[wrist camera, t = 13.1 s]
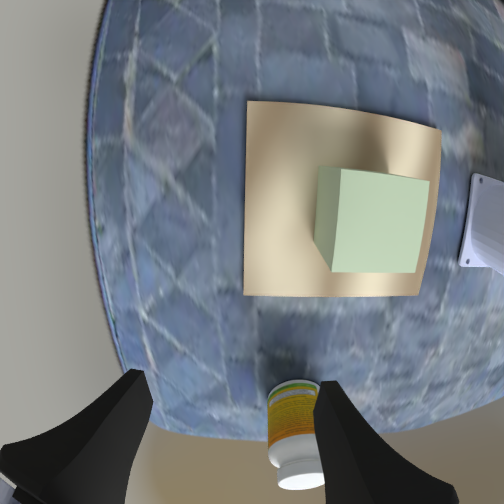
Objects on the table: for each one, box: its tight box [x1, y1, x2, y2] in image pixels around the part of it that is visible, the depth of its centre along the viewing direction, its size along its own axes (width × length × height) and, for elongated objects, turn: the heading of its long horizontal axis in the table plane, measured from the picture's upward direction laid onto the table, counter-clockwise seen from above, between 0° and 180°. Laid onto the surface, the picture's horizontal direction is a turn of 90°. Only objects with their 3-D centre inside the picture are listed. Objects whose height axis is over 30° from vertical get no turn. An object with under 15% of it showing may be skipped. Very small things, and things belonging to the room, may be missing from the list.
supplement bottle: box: [267, 380, 325, 490], centre depth 19 cm, size 5×5×10 cm
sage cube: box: [313, 166, 430, 273], centre depth 15 cm, size 5×5×5 cm
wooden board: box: [244, 101, 441, 297], centre depth 17 cm, size 14×13×1 cm
